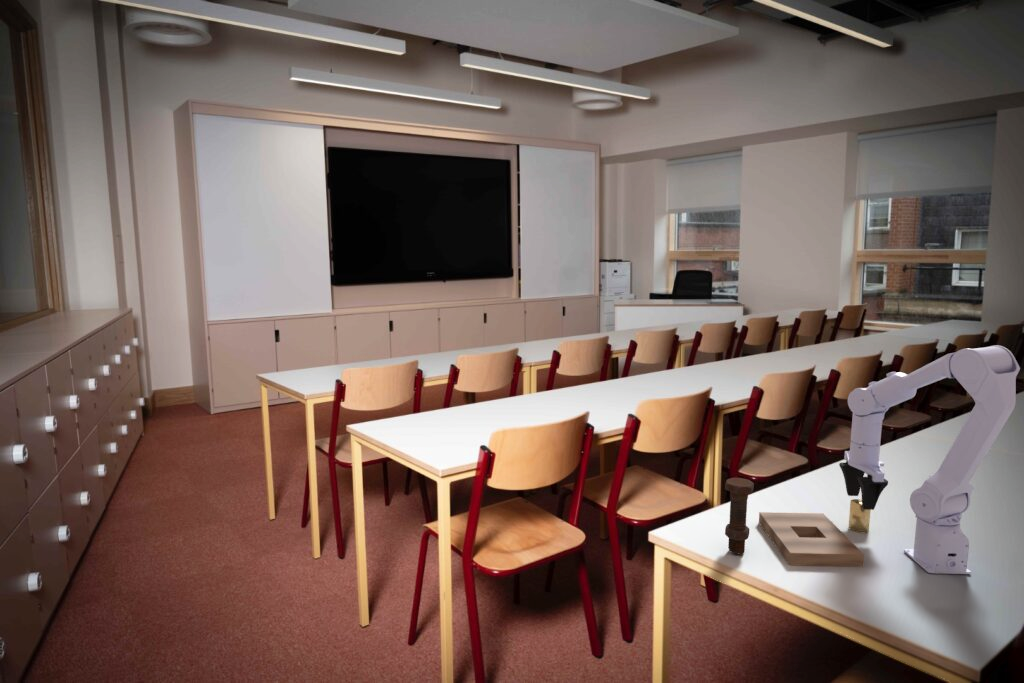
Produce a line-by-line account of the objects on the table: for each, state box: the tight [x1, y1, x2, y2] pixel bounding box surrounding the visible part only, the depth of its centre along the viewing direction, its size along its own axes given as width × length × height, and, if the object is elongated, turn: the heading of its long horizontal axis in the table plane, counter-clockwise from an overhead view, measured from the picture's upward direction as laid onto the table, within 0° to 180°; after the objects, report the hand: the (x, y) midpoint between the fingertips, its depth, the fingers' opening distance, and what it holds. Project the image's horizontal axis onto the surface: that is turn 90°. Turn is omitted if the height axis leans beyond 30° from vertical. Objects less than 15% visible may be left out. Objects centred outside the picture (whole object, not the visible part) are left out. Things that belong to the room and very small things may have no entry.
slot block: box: [758, 511, 865, 568], centre depth 143 cm, size 20×14×2 cm
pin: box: [848, 498, 871, 533], centre depth 150 cm, size 4×4×6 cm
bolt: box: [724, 477, 755, 556], centre depth 138 cm, size 6×5×15 cm
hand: (860, 502), depth 149 cm, fingers open, 7 cm apart
